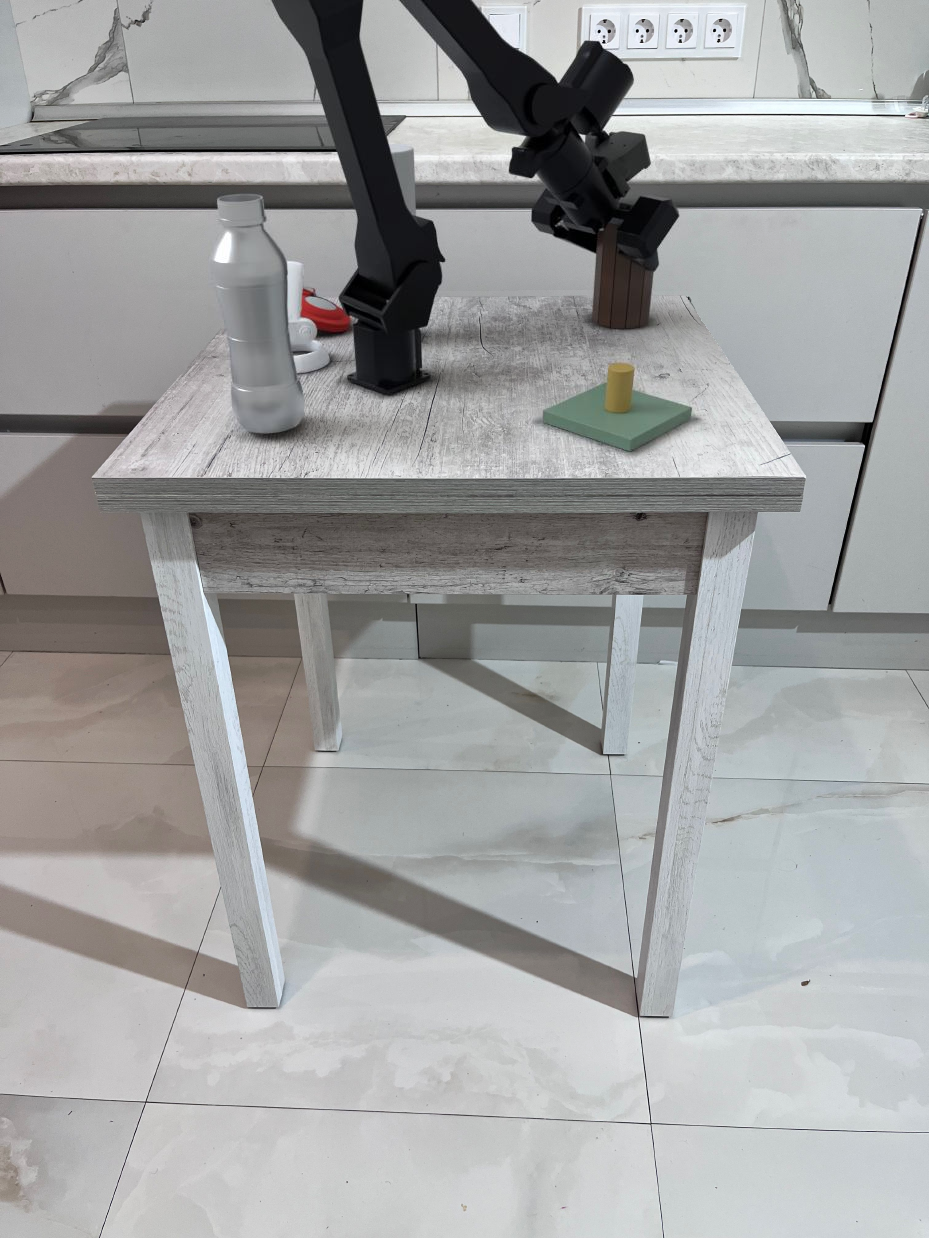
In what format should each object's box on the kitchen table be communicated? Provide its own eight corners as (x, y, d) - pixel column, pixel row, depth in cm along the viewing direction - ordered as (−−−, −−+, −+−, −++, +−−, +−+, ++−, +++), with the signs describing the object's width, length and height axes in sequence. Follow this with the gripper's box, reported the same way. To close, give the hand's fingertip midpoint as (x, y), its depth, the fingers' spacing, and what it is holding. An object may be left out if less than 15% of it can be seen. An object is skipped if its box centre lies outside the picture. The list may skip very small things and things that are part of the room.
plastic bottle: (312, 436, 86) (287, 202, 74) (238, 446, 84) (200, 208, 73) (302, 411, 91) (277, 188, 79) (232, 419, 89) (195, 193, 78)
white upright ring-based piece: (329, 290, 107) (338, 267, 100) (323, 393, 107) (332, 377, 100) (263, 279, 105) (267, 255, 98) (256, 385, 104) (260, 367, 98)
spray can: (354, 340, 109) (339, 150, 97) (388, 325, 113) (377, 142, 102) (398, 350, 106) (388, 154, 94) (431, 334, 110) (426, 146, 99)
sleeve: (627, 332, 110) (636, 224, 103) (581, 321, 114) (587, 216, 107) (659, 319, 114) (670, 214, 107) (613, 308, 118) (621, 207, 111)
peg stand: (630, 451, 82) (635, 395, 79) (542, 422, 88) (544, 368, 85) (690, 419, 88) (698, 365, 85) (605, 393, 94) (609, 342, 91)
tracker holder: (369, 317, 112) (301, 314, 105) (359, 351, 114) (293, 351, 107) (312, 274, 118) (244, 269, 111) (304, 308, 120) (237, 305, 113)
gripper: (678, 113, 93) (734, 217, 104) (554, 98, 105) (617, 193, 117) (613, 209, 93) (677, 301, 105) (498, 183, 106) (566, 268, 117)
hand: (633, 262), depth 111 cm, fingers closed on sleeve, 7 cm apart
